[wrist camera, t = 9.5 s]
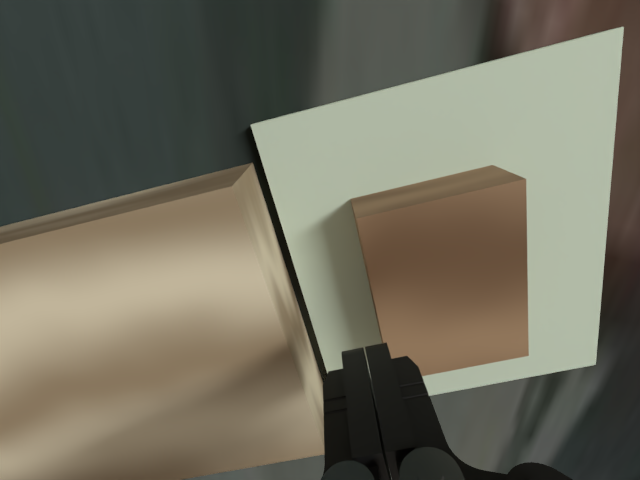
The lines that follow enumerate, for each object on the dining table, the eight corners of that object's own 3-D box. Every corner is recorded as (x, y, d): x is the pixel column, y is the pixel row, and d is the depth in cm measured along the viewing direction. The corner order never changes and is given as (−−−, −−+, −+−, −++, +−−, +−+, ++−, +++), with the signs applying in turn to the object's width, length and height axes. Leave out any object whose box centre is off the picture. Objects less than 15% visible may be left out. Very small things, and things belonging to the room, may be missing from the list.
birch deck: (-115, 255, 16) (-239, 303, 13) (252, 162, 15) (232, 186, 11) (37, 442, 21) (-21, 515, 18) (324, 386, 20) (326, 453, 16)
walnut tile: (526, 178, 12) (492, 164, 14) (356, 218, 13) (350, 198, 15) (528, 355, 15) (500, 321, 17) (392, 382, 16) (382, 344, 18)
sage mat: (252, 123, 14) (250, 125, 14) (610, 29, 13) (623, 26, 13) (338, 403, 20) (339, 412, 20) (587, 356, 19) (595, 364, 19)
